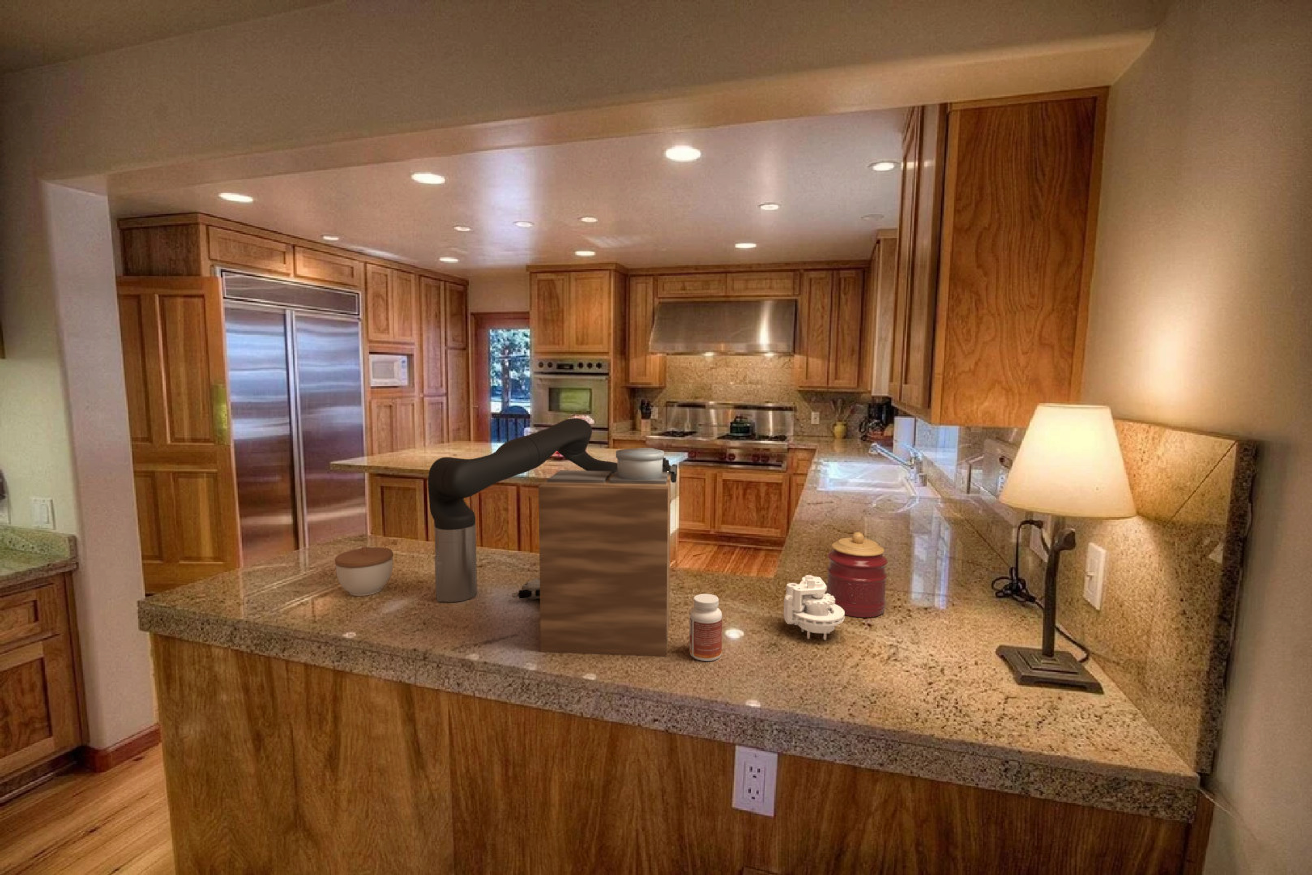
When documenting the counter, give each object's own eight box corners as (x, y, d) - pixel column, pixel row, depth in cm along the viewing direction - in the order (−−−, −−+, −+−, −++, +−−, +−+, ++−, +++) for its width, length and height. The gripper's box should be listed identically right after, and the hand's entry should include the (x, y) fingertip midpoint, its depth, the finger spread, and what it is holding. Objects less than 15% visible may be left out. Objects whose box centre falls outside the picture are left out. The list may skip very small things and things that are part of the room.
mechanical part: (837, 651, 110) (839, 591, 109) (776, 637, 116) (778, 580, 115) (848, 629, 120) (851, 574, 119) (792, 617, 126) (793, 565, 125)
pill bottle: (728, 656, 108) (729, 599, 107) (703, 665, 104) (704, 607, 103) (707, 643, 113) (708, 589, 112) (682, 652, 109) (683, 596, 108)
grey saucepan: (662, 480, 109) (662, 454, 109) (612, 479, 110) (612, 454, 110) (667, 463, 132) (667, 442, 132) (626, 462, 133) (626, 441, 132)
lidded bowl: (365, 603, 132) (363, 557, 131) (324, 596, 136) (321, 551, 135) (405, 585, 144) (404, 542, 142) (366, 579, 148) (364, 537, 146)
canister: (836, 592, 141) (838, 522, 139) (891, 604, 133) (895, 531, 131) (817, 609, 130) (820, 534, 128) (876, 623, 123) (880, 543, 121)
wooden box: (666, 656, 108) (667, 485, 104) (540, 651, 109) (538, 483, 106) (669, 620, 123) (670, 471, 120) (559, 617, 125) (558, 469, 122)
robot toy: (509, 608, 132) (566, 612, 127) (507, 589, 132) (565, 593, 127) (537, 590, 144) (590, 593, 138) (535, 572, 143) (589, 575, 138)
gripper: (622, 471, 146) (615, 445, 131) (677, 472, 145) (677, 446, 130) (620, 499, 142) (612, 476, 128) (677, 500, 142) (676, 477, 127)
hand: (645, 461), depth 129 cm, fingers open, 8 cm apart
